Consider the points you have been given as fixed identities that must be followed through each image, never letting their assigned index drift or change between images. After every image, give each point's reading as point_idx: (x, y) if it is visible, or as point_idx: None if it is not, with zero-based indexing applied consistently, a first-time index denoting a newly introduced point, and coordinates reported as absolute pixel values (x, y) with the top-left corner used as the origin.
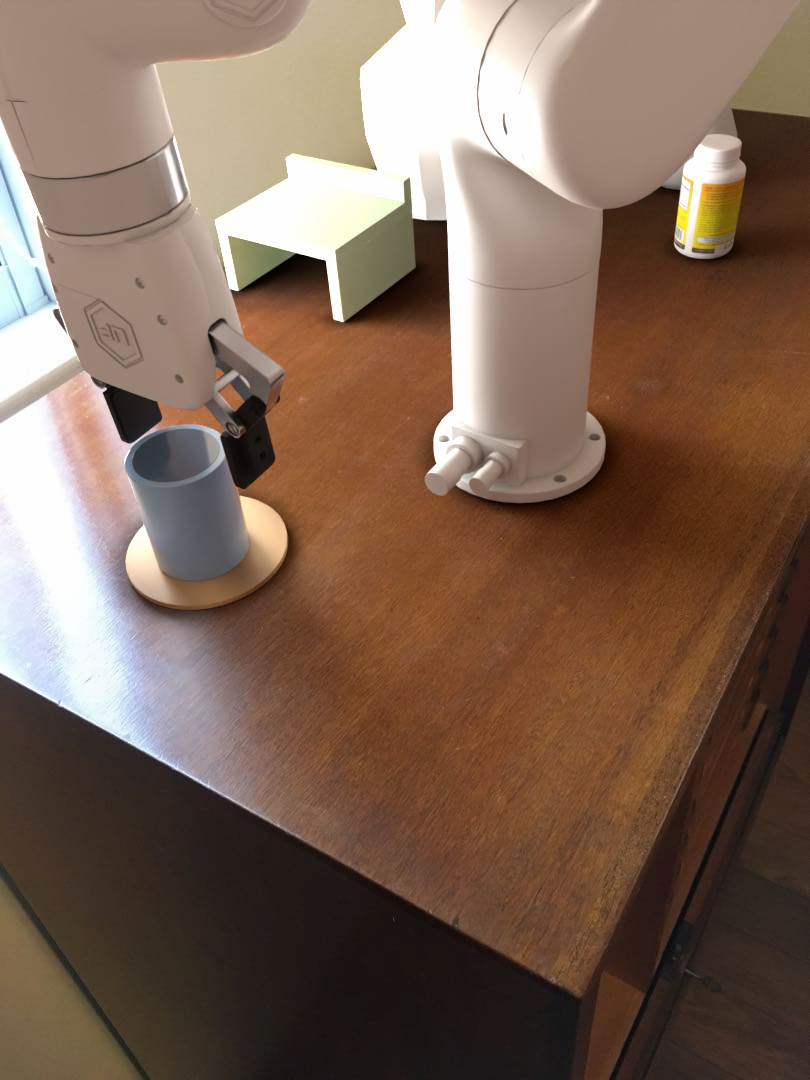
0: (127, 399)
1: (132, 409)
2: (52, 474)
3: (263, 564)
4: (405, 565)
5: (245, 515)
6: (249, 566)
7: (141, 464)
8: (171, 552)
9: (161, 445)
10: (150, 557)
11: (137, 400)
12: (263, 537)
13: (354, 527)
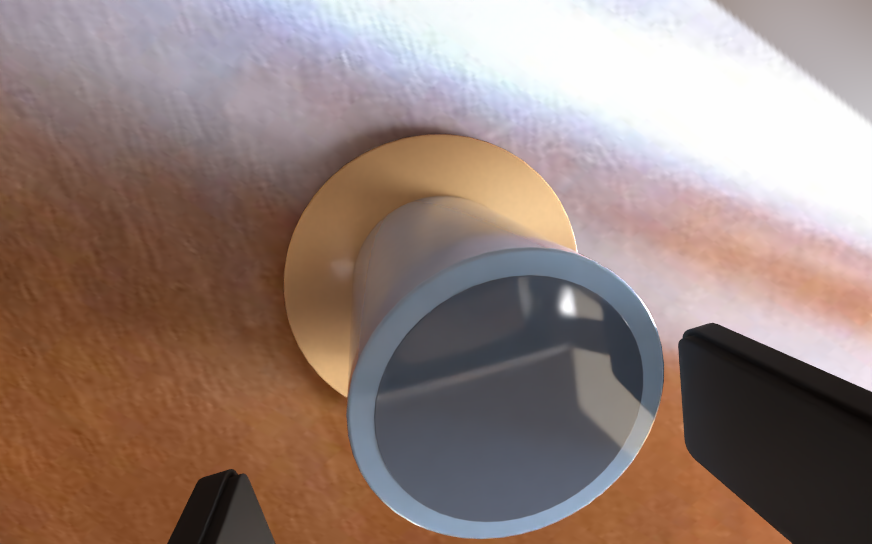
0: (818, 461)
1: (768, 434)
2: (817, 193)
3: (323, 337)
4: (160, 499)
5: None
6: (336, 317)
7: (559, 309)
8: (406, 219)
9: (585, 397)
10: (495, 200)
11: (786, 474)
12: None
13: (301, 486)
